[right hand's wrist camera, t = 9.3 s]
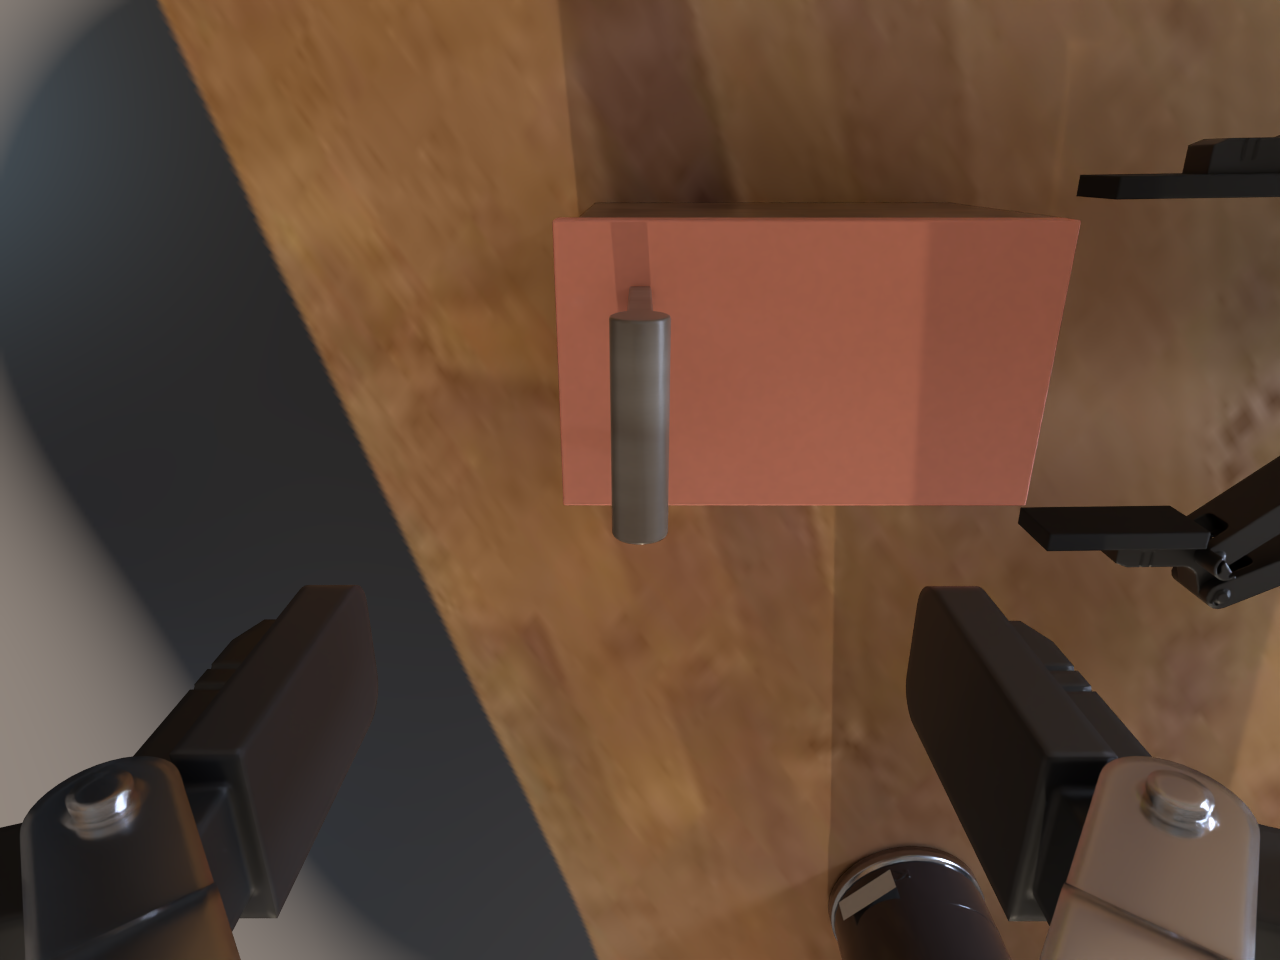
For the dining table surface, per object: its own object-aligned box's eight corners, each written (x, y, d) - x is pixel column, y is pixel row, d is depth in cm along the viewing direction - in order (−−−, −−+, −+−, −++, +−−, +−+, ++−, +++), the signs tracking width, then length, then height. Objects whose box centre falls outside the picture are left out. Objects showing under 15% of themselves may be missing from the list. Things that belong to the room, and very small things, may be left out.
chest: (598, 412, 38) (585, 491, 29) (594, 202, 35) (577, 217, 26) (921, 412, 38) (1009, 491, 29) (950, 202, 35) (1061, 217, 26)
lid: (566, 492, 29) (540, 606, 22) (556, 217, 26) (521, 240, 18) (1010, 492, 29) (1138, 606, 22) (1061, 217, 26) (1235, 240, 18)
